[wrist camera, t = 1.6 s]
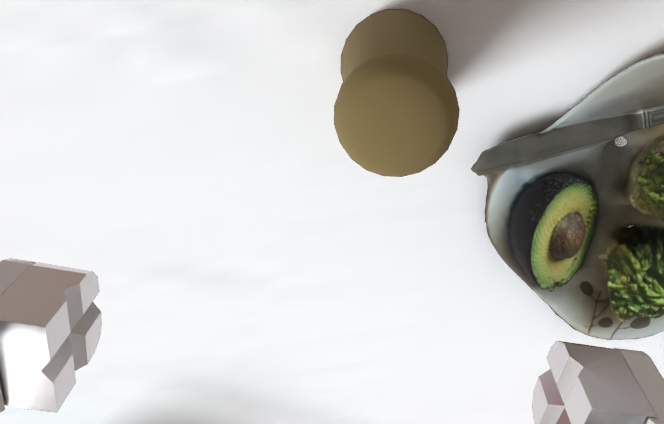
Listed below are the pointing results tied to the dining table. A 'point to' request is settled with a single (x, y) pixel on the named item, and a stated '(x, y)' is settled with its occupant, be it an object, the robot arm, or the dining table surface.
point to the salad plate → (589, 207)
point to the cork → (395, 94)
